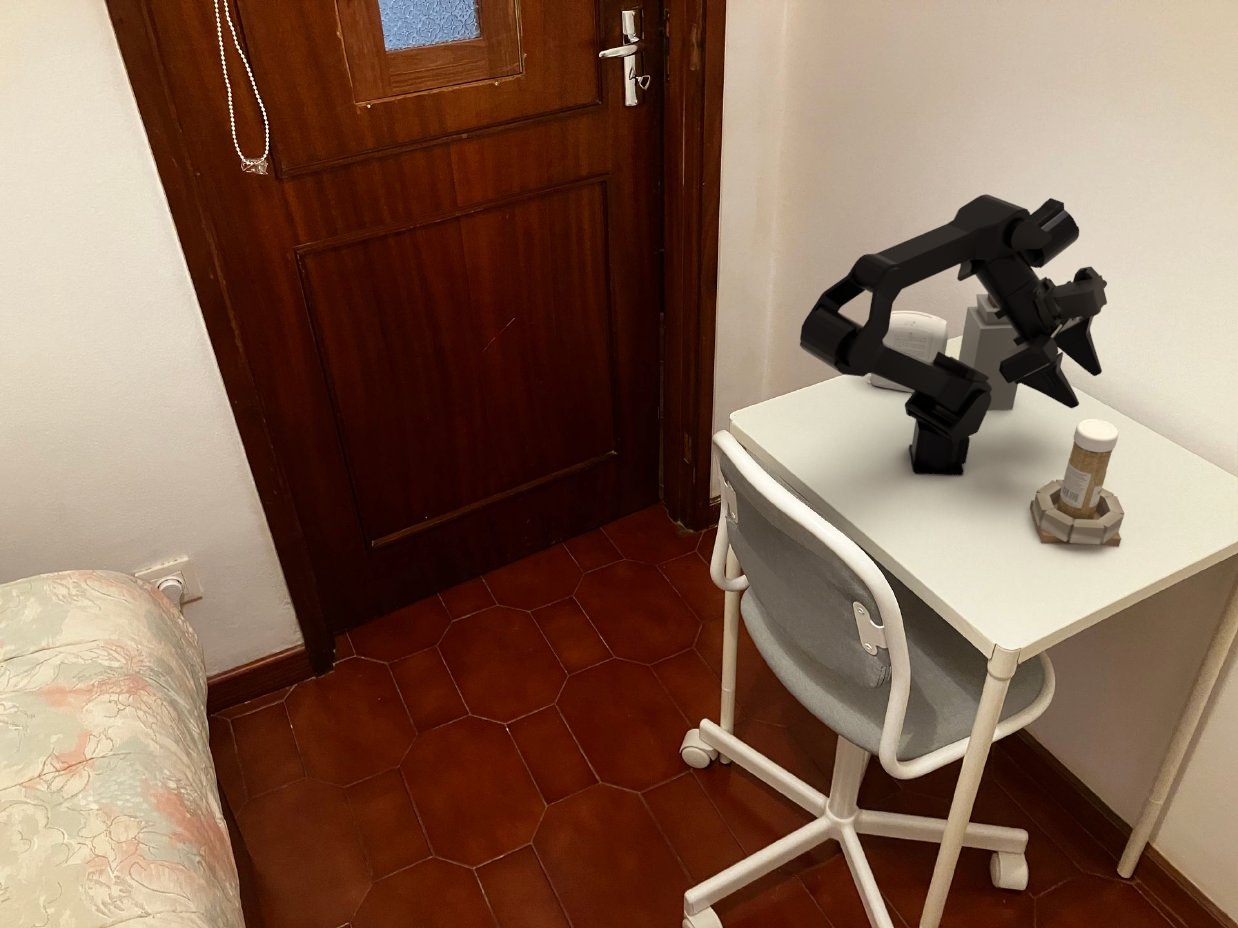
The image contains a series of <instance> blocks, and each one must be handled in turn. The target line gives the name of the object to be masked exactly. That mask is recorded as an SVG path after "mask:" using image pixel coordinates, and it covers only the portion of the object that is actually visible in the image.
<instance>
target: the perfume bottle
mask: <svg viewBox="0 0 1238 928" xmlns="http://www.w3.org/2000/svg"><path fill="white" fill-rule="evenodd" d="M975 296H976V306H967V307H966V308H967V309H966V314H965V320H964V321H965V322H964V327H963V331H962V332H963V333H962V338H961V344H960V350H959V355H958V360H959V361H960V362H962V363H964V364H966V365H968V366H970V367H972V368H973V369H975V370H977V371H979V372H981V373H983V374H985V375H986V376H988V377H989V379H988V380H987V381H986V382H988V383H989V384H990V385H991V387H992V391H990V395H991V403H990V406H989V408H988V410H987V412H988V411H1013V409H1014V404H1015V401H1016V394H1017V390H1018V386H1019V384H1016V383H1015V382H1014V381H1013V382H1011V383H1007V382H1006V380H1005V379H1004V377H1003V376H1002V375H1001V373H1000V372H999V368H1000V363H1001V361H1002V360H1003V358H1004V357H1005V356H1006V355H1007V354H1008V353H1009V351H1010V350H1012V349H1014V348H1016V347H1018V346H1017V345H1016V344H1015V342H1014V341H1013V339H1014V338H1015V337H1016V336H1017V333H1016V332H1015V330H1014V329H1013V327H1012V326H1011V324H1010V323H1009V322H1008V320H1007V319H1006V317H1005V316H1004V317H1002V318H1001V319H999V320H998V318H997V317H996V315H995V314H994V312H995V311H996V310H997V309H998V306H997V305H996V303H995V302H994V301H993V299H992V298H991V296H990V295H989V294H988V293H984V294H983V293H982V294H979V293H978V294H976V295H975ZM1021 345H1022V344H1021ZM1019 346H1020V345H1019Z"/></svg>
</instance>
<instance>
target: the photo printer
mask: <svg viewBox="0 0 1238 928" xmlns="http://www.w3.org/2000/svg"><path fill="white" fill-rule="evenodd" d="M948 340H949V329H948V321H947V320H945V319H943V318H941V317H938V316H935V315H933V314H930V313H927V312H922V311H921V312H920V311H915V310H892V311H891V317H890V324H889V330H888V332H887V334H886V336H885V337H884V339H883V340H882V341H883V343H885V344H887V345H890V346H892V347H894V348H897V349H899V350H901V351H903V352H906V353H908V354H910V355H913V356H915V357H917V358H919V359H922V360H924V361H926V362H931V361H932V360H934V359H935V357H936V355H937V352H938V351H939V352H941V353H943V354H944V355H946V351H947V347H948V346H947V345H948ZM870 383H871V385H873V386H876V387H880V388H885V389H890V390H891V389H892V390H897V391H903V392H909V393H914V391H915V390H912V389H910V388H907V387H905V386H902V385H900V384H897V383H895V382H892V381H890V380H887V379H885V378H882V377H880V376H877V375H875V374H872V373H870Z"/></svg>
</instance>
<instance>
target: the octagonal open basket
mask: <svg viewBox="0 0 1238 928" xmlns="http://www.w3.org/2000/svg"><path fill="white" fill-rule="evenodd" d="M1063 480H1064V479H1056V480H1054V479H1052V480H1051V481H1050V482H1048V483H1046V484H1045V485H1044V486H1042V487H1041V488H1039V489H1037V490H1036V493H1035V495H1034V496H1035V497H1034V499H1033V500H1031V501H1030V504H1029V511H1030V514H1031V516H1032V519H1033V522H1034V525H1035V529H1036V531H1037V535H1038V537H1039V540H1040V542H1041V544H1057V545H1077V546H1079V545H1080V546H1100V547H1103V546H1105V547H1120V544H1121V541H1122V537H1121V535H1120V533H1119V532H1120V530H1121V526H1122V523H1123V519H1124V516H1125V512H1124V511H1125V510H1124V509H1123V506H1122V504H1121V503H1120V500H1119V498H1118V496H1116V495H1115V494H1114V493H1113V492H1111V491H1109V490H1108V489H1105V488H1103V487H1102V490H1101V494H1100V498H1099V502H1098V503H1097V506H1096V510H1095V514H1094V520H1086V519H1073V518H1072V517H1070V516H1068V515H1066V514H1064V513H1062V512H1060V511H1058V510H1056V509H1057V507H1058V503H1059V499H1060V492H1061V488H1062V484H1063Z"/></svg>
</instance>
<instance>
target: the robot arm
mask: <svg viewBox="0 0 1238 928" xmlns="http://www.w3.org/2000/svg"><path fill="white" fill-rule="evenodd" d="M1079 237H1080V228H1079V226H1078V225H1077V223H1076V221H1075V219H1074V217H1073V215H1071V214H1070V213H1069V211H1067V210H1066V209H1065V203H1064V202H1063V201H1060V200H1057V199H1054V198H1052V197H1050V198H1049V199H1047V200H1046V201H1044V203H1042V205H1040V206H1039V207H1038V208H1037V209H1036V210H1035V211H1033V212H1032V213H1031V212H1030V210H1029V209H1028V208H1026V207H1023V206H1020V205H1018V204H1015V203H1012V202H1009V201H1006V200H1004V199H1002V198H998V197H995V196H993V195H990V194H986V193H985V194H982V195H979V196H977V197H975V198H974V199H971V201H969V202H968V203H966V204H965V205H963V206H961V207H960V208H959V209H958V210H957V212H956V214H955V216H954V218H953V219H952V220H951V221H949V222H948V223H945V224H944V225H940V226H938V227H936V228H934V229H932V230H929V231H926V232H923V233H922V234H919V235H917V236H915V237H912V238H910V239H908V240H905V241H902V242H900V243H898V244H894V245H893V246H891V247H889V248H886V249H883V250H881V251H879V252H876V253H866V254H863V255H862V256H860V257H859V258H858V259H857V260H856V261H855V262H854V265H853V266H852V267H851V269H850V271H848V273H847V275H845V276H844V277H843V278H841V279H840V280H838V281H837V282H836V283H834V284H833V285H831V286H830V287H829V288H828V289H826V290H825V291H823V292H822V293H821V294H820V296H819V297H818V300H817V301H816V302H815V303H814V306H813V307H812V308H811V310H810V311H809V313H808V314H807V316H806V318H805V320H804V321H803V324H802V325H801V330H800V341H799V347H800V348H801V349H802V350H804V351H805V352H806V353H808V354H809V355H810V356H812V357H814V358H816V359H818V360H819V361H820V362H822V363H825V364H826V365H827V366H829V367H831V368H833V369H834V370H836V371H837V372H838V373H840V374H841V375H845V376H852V377H853V376H855V377H861V378H862V377H865V376H867V375H868V374H871V373H872V374H875V375H877V376H880V377H882V378H885V379H887V380H890V381H892V382H895V383H897V384H900V385H902V386H905V387H907V388H910V389H912V390H915V391H914V392H912V394H911V395H910V396H909V398H908V399H907V401H905V403H904V409H905V414H906V416H908V417H912V418H913V419H914V420H915V423H914V428H913V429H914V430H913V435H912V442H911V444H909V445H908V453H909V457H910V464H911V467H912V472H913V474H915V475H934V476H935V475H937V476H939V475H940V476H963V474H964V468H963V467H964V466H963V465H965V464H966V463H967V457H968V452H969V447H970V441H971V438H970V436H973V435H974V434H977V433H978V432H979V430H980V427H981V425H982V424H983V421H984V418H985V417H986V415H987V412H988V411H987V410H988V408H989V406H990V403H991V395H990V391H992V387H991V385H990V384H989V383H988V382H986V381H987V380H988V379H989V377H988V376H986V375H985V374H983V373H981V372H979V371H977V370H975V369H973V368H972V367H970V366H968V365H966V364H964V363H962V362H960V361H959V359H956V358H955V357H953V356H948V355H946V354H945V355H944V354H943V353H941V352H939V351H938V352H937V355H936V357H935V359H934V360H932V361H931V362H926V361H924V360H922V359H919V358H917V357H915V356H913V355H910V354H908V353H906V352H903V351H901V350H899V349H897V348H894V347H892V346H890V345H887V344H885V343H883V341H882V340H883V339H884V337H885V336H886V334H887V332H888V330H889V324H890V317H891V311H893V310H892V309H893V304H894V302H895V300H896V298H897V297H898V296H899V294H900V293H901V291H902V290H904V289H906V288H908V287H910V286H913V285H915V284H918V283H920V282H922V281H924V280H926V279H929V278H932V277H933V276H935V275H938V274H940V273H942V272H945V271H947V270H949V269H952V268H955V266H958V265H960V267H959V269H958V273H957V277H956V279H957V280H958V281H959V282H962V281H964V280H967V279H969V278H971V277H973V276H975V277H976V278H977V279H978V281H979V282H980V284H981V285H982V286H983V288H984V289H985V290H986V292H987V294H989V295H990V296H991V298H992V299H993V301H994V302H995V303H996V305H997V306H998V309H997V310H996V311H995V312H994V314H995V315H996V317H997V318H998V320H999V319H1001V318H1002V317H1004V316H1005V317H1006V319H1007V320H1008V322H1009V323H1010V324H1011V326H1012V327H1013V329H1014V330H1015V332H1016V333H1017V336H1016V337H1015V338H1014V339H1013V341H1014V342H1015V344H1016V345H1017V346H1018V347H1016V348H1014V349H1012V350H1010V351H1009V353H1008V354H1007V355H1006V356H1005V357H1004V358H1003V360H1002V361H1001V363H1000V368H999V372H1000V373H1001V375H1002V376H1003V377H1004V379H1005V380H1006V382H1007V383H1011V382H1013V381H1014V382H1015V383H1016V384H1018V385H1019V384H1022V385H1024V386H1027V387H1029V388H1030V389H1032V390H1035V391H1037V392H1039V393H1041V394H1044V395H1046V396H1047V397H1049V398H1051V399H1053V400H1055V401H1057V402H1058V403H1060V404H1061V405H1063V406H1066V408H1070V409H1075V408H1076V407H1079V405H1080V402H1079V400H1078V398H1077V395H1076V393H1075V391H1074V390H1073V388H1072V386H1071V384H1070V382H1069V380H1068V379H1067V377H1066V375H1065V374H1064V371H1063V369H1062V366H1061V365H1062V362H1063V357H1064V354H1066V356H1068V357H1069V358H1070V359H1071V360H1073V361H1074V362H1075V363H1076V364H1078V366H1080V367H1081V368H1082V369H1084V370H1085V371H1086V372H1087V373H1089V374H1090V375H1092V376H1093V377H1096V376H1099V375H1101V374H1102V372H1103V370H1102V366H1101V363H1100V361H1099V358H1098V354H1097V350H1096V347H1095V343H1094V341H1093V336H1092V332H1091V326H1092V324H1093V320H1094V317H1095V316H1097V315H1099V314H1100V313H1101V312H1102V309H1103V307H1104V306H1106V305H1107V304H1108V300H1107V295H1106V292H1105V288H1106V287H1107V285H1108V281H1106V280H1105V279H1103V276H1102V274H1101V275H1100V274H1099V273H1098V272H1097V271H1096V270H1095V269H1094V267H1092V266H1085V267H1080V268H1079V269H1078V270H1077V271H1076V272H1075V274H1074V277H1073V280H1067V281H1066V282H1065V283H1064V284H1059V285H1056V284H1055V283H1054V281H1052V278H1048V277H1047V276H1044V277H1043V278H1041V279H1040V278H1039V277H1038V275H1037V274H1036V272H1035V270H1034V269H1033V268H1036V269H1042V268H1043V267H1044V266H1046V265H1047V264H1048V263H1049V262H1051V261H1052V260H1053V259H1055V258H1056V257H1057V256H1058V255H1060V254H1061V253H1062V252H1063V251H1065V250H1066V249H1067V248H1068V247H1070V246H1071V245H1072V244H1075V242H1077V240H1078V238H1079ZM865 291H867V292H869V293H871V294H872V295H871V300H870V307H869V314H868V319H867V320H866V322H865V324H864V325H862V324H861V323H858V322H856V321H855V320H853V319H851V318H850V317H848V316H846V315H845V314H842V313H840V312H839V311H840V309H841V308H842V307H844V306H845V305H847V304H848V303H849V302H850V301H852V300H854V299H856V297H858V296H860V294H862V293H863V292H865ZM1021 344H1022V345H1021ZM1019 345H1020V346H1019ZM1059 350H1061V352H1059Z"/></svg>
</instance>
